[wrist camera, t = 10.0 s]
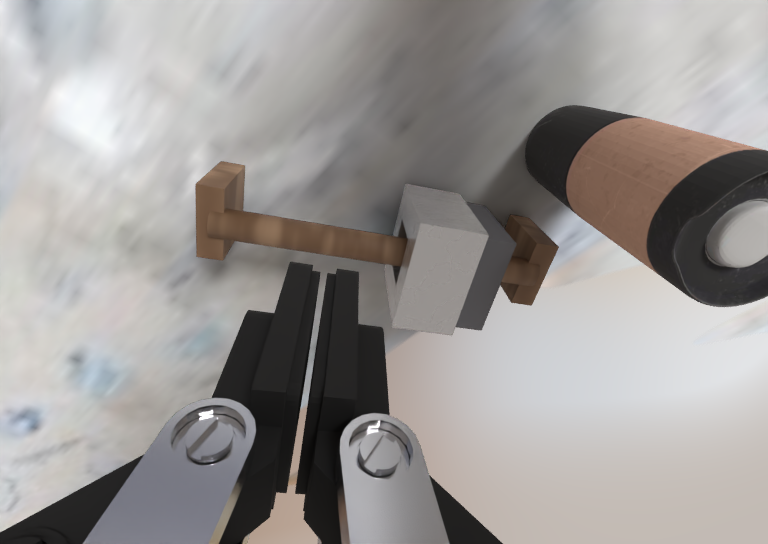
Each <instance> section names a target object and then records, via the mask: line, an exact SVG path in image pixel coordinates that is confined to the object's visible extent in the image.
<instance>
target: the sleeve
mask: <svg viewBox="0 0 768 544" xmlns="http://www.w3.org/2000/svg"><path fill="white" fill-rule="evenodd" d="M393 236H396V237H402V238H408V242H407V246H406V250H405V254H404V258H403V261H402V265H401V266H394V265H388V264H386V266H385V270H384V274H385V281H386V288H387V295H388V302H389V309H390V316H391V323H392V328H399V329H407V330H414V331H422V332H430V333H439V334H446V335H452V334H453V332H454V329H455V327H456V324H457V321H458V318H459V316H460V313H461V310H462V308H463V305H464V302H465V299H466V297H467V294H468V291H469V288H470V286H471V283H472V280H473V278H474V275H475V272H476V269H477V267H478V264H479V261H480V259H481V256H482V253H483V250H484V248H485V245H486V242H487V240H488V237H489V234H488V233H487V231H486V230H485V229H484V227H483V226H482V224H481V223H480V222H479V220H478V219H477V218H476V216H475V215H474V213H473V212H472V211H471V209H470V208H469V206H468V205H467V204H466V202H465V201H464V199H463V198H462V197H461V195H460V194H458V193H453V192H448V191H443V190H437V189H432V188H427V187H421V186H416V185H411V184H406V183H405V187H404V192H403V196H402V200H401V204H400V208H399V212H398V216H397V221H396V225H395V229H394V233H393Z"/></svg>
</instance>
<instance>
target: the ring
mask: <svg viewBox="0 0 768 544" xmlns="http://www.w3.org/2000/svg"><path fill="white" fill-rule="evenodd" d="M466 204H467V205H468V206H469V208H470V209H471V211H472V212H473V213H474V215H475V216H476V218H477V219H478V220H479V222H480V223H481V224H482V226H483V227H484V229H485V230H486V231H487V233H488V234H489V237H488V240H487V242H486V245H485V248H484V250H483V253H482V256H481V259H480V261H479V264H478V267H477V269H476V272H475V275H474V278H473V280H472V283H471V286H470V288H469V291H468V294H467V297H466V299H465V302H464V305H463V308H462V310H461V313H460V316H459V318H458V321H457V324H456V327H460V328H467V329H474V330H482V328H483V325H484V323H485V320H486V318H487V316H488V313H489V311H490V308H491V306H492V303H493V301H494V298H495V296H496V294H497V291H498V289H499V286H500V284H501V281H502V279H503V276H504V274H505V272H506V269H507V267H508V264H509V262H510V259H511V257H512V254H513V252H514V250H515V247H516V245H517V244H516V242H515V241H514V240H513V239H512V238H511V236H510V235H509V234H508V233H507V232H506V230H505V229H504V228H503V227H502V225H501V224H500V223H499V222H498V221H497V219H496V218H495V217H494V216H493V215H492V213H491V212H490V211H489V210H488V209H487V207H486V206H484V205H479V204H473V203H468V202H466Z"/></svg>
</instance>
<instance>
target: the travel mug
mask: <svg viewBox="0 0 768 544" xmlns="http://www.w3.org/2000/svg"><path fill="white" fill-rule="evenodd" d="M525 158H526V164H527V167H528V170H529V172H530V173H531V175H532V176H533V177H534V178H535V179H536V180H537V181H538V182H539V183H540V184H541V185H542V186H544V187H545V188H546V189H547V190H548V191H550V192H551V193H552V194H553V195H554V196H556V197H557V198H558V199H559V200H560V201H561V202H563V203H564V204H565V205H566V206H567V207H569V208H570V209H571V210H572V211H573V212H574V213H576V214H577V215H578V216H579V217H581V218H582V219H583V220H585V221H586V222H587V223H589V224H590V225H592V226H593V227H594V228H596V229H597V230H598V231H600V232H601V233H602V234H604V235H605V236H607V237H608V238H609V239H611V240H612V241H613V242H615V243H616V244H618V245H619V246H620V247H622V248H623V249H624V250H626V251H627V252H629V253H630V254H631V255H633V256H634V257H635V258H637V259H638V260H639V261H641V262H642V263H644V264H645V265H646V266H648V267H649V268H650V269H652V270H653V271H655V272H656V273H657V274H659V275H660V276H662V277H663V278H664V279H666V280H667V281H668V282H670V283H671V284H672V285H674V286H675V287H676V288H678V289H679V290H681V291H682V292H683V293H685V294H686V295H688V296H689V297H691V298H692V299H694V300H696V301H698V302H700V303H703V304H706V305H710V306H716V307H731V306H739V305H744V304H747V303H751V302H754V301H757V300H760V299H763V298H765V297H767V296H768V151H766V150H762V149H758V148H755V147H751V146H747V145H744V144H740V143H736V142H732V141H729V140H725V139H721V138H717V137H714V136H710V135H706V134H703V133H699V132H695V131H691V130H688V129H684V128H680V127H676V126H673V125H669V124H665V123H661V122H658V121H654V120H650V119H646V118H642V117H637V116H632V115H627V114H621V113H616V112H611V111H606V110H601V109H596V108H591V107H585V106H576V105H573V106H565V107H562V108H559V109H556V110H554V111H552V112H551V113H549V114H548V115H546V116H545V117H544V118H543V119H542V120H541V121H540V122H539V123H538V124H537V125H536V126H535V128H534V129H533V131H532V133H531V134H530V136H529V139H528V141H527V145H526V151H525Z"/></svg>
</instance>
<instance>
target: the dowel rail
mask: <svg viewBox="0 0 768 544" xmlns="http://www.w3.org/2000/svg"><path fill="white" fill-rule="evenodd" d="M244 178H245V166H244V165H239V164H233V163H228V162H222V161H221V162H220V163H219V164H218V165H216V166H215V167H214V168H213V169H212V170H211V171H210V172H209V173H207V174H206V175H205V176H204V177H203V178H202V179H201V180H200V181H198V182H197V183H196V244H197V257H202V258H209V259H216V260H224V258H225V256H226V255H227V253H228V251H229V250H230V248H231V246H232V245H233V243H234V241H238V242H245V243H251V244H258V245H264V246H271V247H277V248H284V249H290V250H297V251H303V252H310V253H316V254H323V255H329V256H336V257H342V258H349V259H355V260H362V261H368V262H375V263H381V264H388V265H394V266H401V265H402V261H403V258H404V254H405V250H406V246H407V242H408V238H402V237H396V236H390V235H384V234H378V233H372V232H366V231H360V230H354V229H348V228H342V227H336V226H330V225H324V224H318V223H312V222H306V221H300V220H294V219H288V218H282V217H276V216H270V215H264V214H258V213H252V212H246V211H243V201H244ZM505 230H506V232H507V233H508V234H509V235H510V236H511V238H512V239H513V240H514V241H515V242H516V244H517V245H516V247H515V250H514V252H513V254H512V257H511V259H510V262H509V264H508V267H507V269H506V272H505V274H504V276H503V279H502V281H501V284H500V285H501V287H502V288H503V290H504V292H505V293H506V295H507V296H508V298H509V300H510V301H511V303H518V304H525V305H532V304H533V302H534V299H535V297H536V295H537V293H538V291H539V289H540V286H541V284H542V282H543V280H544V278H545V276H546V274H547V271H548V269H549V267H550V265H551V263H552V261H553V259H554V256H555V254H556V252H557V250H558V248H559V247H558V246H557V245H556V244H555V243H554V242H553V241H552V240H551V239H550V238H549V237H548V236H547V235H546V234H545V233H544V232H543V231H542V230H541V229H540V228H539V227H538V226H537V225H536V224H535V223H534V222H533V221H532V220H531V219H530V218H527V217H521V216H516V215H510V217H509V219H508V222H507V224H506V227H505Z"/></svg>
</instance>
